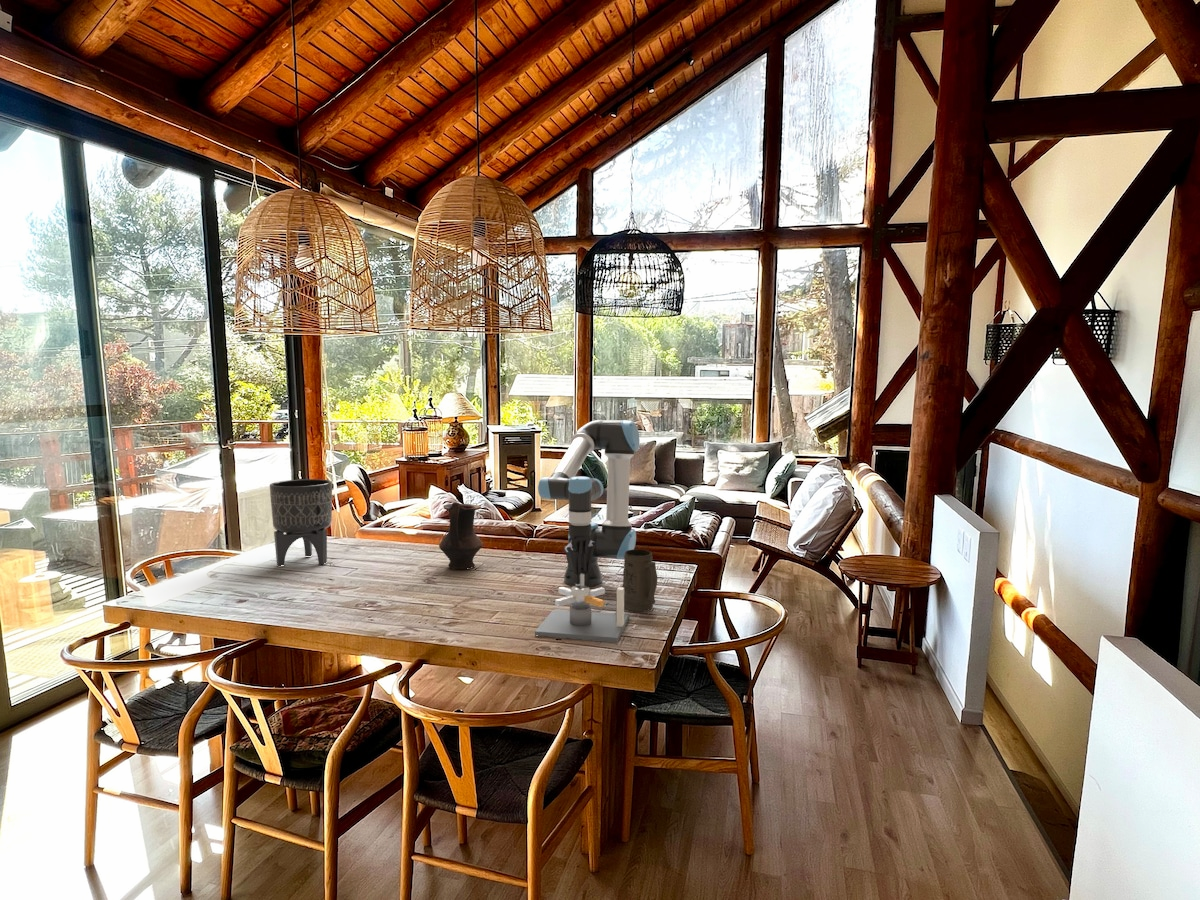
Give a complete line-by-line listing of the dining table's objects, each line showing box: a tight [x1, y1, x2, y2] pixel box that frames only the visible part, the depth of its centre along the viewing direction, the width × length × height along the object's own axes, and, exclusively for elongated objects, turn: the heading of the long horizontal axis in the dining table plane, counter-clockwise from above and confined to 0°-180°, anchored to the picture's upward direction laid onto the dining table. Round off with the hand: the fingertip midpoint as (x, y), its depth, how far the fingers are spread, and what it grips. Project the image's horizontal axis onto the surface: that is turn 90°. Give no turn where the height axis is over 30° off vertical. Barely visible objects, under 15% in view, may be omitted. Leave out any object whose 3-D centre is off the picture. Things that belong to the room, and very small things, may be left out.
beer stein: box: [622, 548, 658, 612], centre depth 238 cm, size 15×11×20 cm
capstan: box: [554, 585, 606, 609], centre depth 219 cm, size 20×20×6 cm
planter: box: [269, 478, 333, 567], centre depth 298 cm, size 25×25×36 cm
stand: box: [534, 586, 630, 643], centre depth 219 cm, size 22×26×14 cm
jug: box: [438, 501, 484, 570], centre depth 290 cm, size 21×18×30 cm
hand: (579, 592), depth 228 cm, fingers closed
